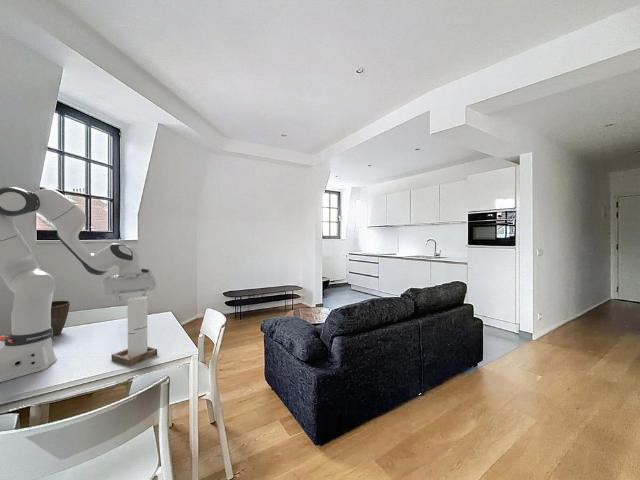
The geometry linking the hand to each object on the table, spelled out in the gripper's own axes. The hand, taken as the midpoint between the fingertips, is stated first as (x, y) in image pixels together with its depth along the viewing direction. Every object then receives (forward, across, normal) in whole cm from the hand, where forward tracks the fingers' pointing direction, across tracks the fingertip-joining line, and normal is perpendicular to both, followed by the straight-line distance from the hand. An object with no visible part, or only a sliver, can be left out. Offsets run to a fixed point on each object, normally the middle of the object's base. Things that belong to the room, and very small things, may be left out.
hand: (132, 299), depth 127 cm
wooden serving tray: (+24, 0, +10) cm, 26 cm away
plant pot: (-16, -32, +50) cm, 61 cm away
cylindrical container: (+24, +1, +9) cm, 25 cm away
